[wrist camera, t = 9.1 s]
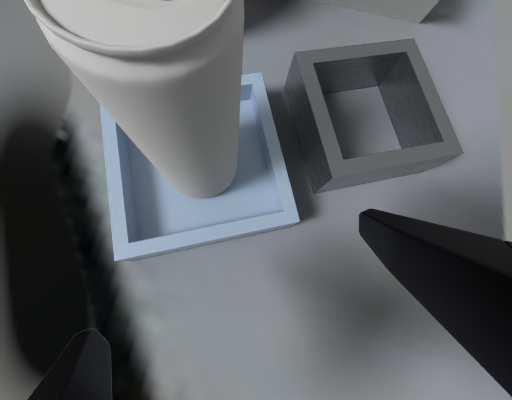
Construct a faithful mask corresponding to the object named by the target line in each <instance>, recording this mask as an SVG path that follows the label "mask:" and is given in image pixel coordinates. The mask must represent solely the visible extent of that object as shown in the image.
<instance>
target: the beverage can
mask: <svg viewBox="0 0 512 400" xmlns="http://www.w3.org/2000/svg"><path fill="white" fill-rule="evenodd" d="M24 1H25V2H26V4H27V6H28V8H29V10H30V11H31V13H33V15H34V16H35V17H36V20H37V22H38V24H39V25H40V28H41V29H42V31H43V33H44V35H45V36H46V38H47V40H48V42H49V44H50V45H51V46H52V48H53V49H54V50H55V51H56V53H57V54H58V55H59V56H60V57H61V58H62V60H63V61H64V62H65V63H66V64H67V65H68V67H69V68H70V69H71V70H72V71H73V73H74V74H75V75H76V76H77V77H78V78H79V80H80V81H81V82H82V83H83V84H84V85H85V87H86V88H87V89H88V90H89V91H90V92H91V94H92V95H93V96H94V97H95V98H96V99H97V101H98V102H99V103H100V104H101V105H102V106H103V108H104V109H105V110H106V111H107V112H108V113H109V115H110V116H111V117H112V118H113V119H114V120H115V122H116V123H117V124H118V125H119V126H120V127H121V129H122V130H123V131H124V132H125V133H126V134H127V136H128V137H129V138H130V139H131V140H132V141H133V142H134V144H135V145H136V146H137V147H138V148H139V149H140V150H141V152H142V153H143V154H144V155H145V156H146V157H147V158H148V159H149V161H150V162H151V163H152V164H153V165H154V166H155V167H156V168H157V169H158V171H159V172H160V173H161V174H162V175H163V176H164V177H165V178H166V180H167V181H168V182H169V183H170V184H171V185H172V186H173V187H174V188H175V189H176V190H177V191H179V192H181V193H182V194H184V195H186V196H189V197H192V198H195V199H206V198H209V197H213V196H216V195H218V194H219V193H221V192H223V191H224V190H225V189H226V188H227V187H228V186H229V185H230V184H231V182H232V181H233V179H234V177H235V174H236V171H237V162H238V141H239V120H240V99H241V78H242V57H243V36H244V0H24Z"/></svg>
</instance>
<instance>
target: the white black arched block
mask: <svg viewBox="0 0 512 400" xmlns="http://www.w3.org/2000/svg"><path fill="white" fill-rule="evenodd" d="M312 1H317V2H321V3H326V4H330V5H335V6H340V7H344V8H349V9H354V10H358V11H363V12H368V13H372V14H377V15H382V16H386V17H391V18H395V19H400V20H405V21H409V22H414V23H420V22H421V21H422V20H423V19H424V17H425V16H426V15H427V14H428V13H429V12H430V11H431V10H432V8H433V7H434V6H435V5H436V4H437V3H438V2H439V1H440V0H312Z"/></svg>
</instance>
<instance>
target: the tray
mask: <svg viewBox="0 0 512 400" xmlns="http://www.w3.org/2000/svg"><path fill="white" fill-rule="evenodd" d="M100 113H101V123H102V134H103V144H104V155H105V165H106V176H107V187H108V197H109V208H110V218H111V229H112V239H113V250H114V260H115V261H134V260H139V259H144V258H148V257H153V256H158V255H162V254H167V253H172V252H176V251H181V250H186V249H190V248H195V247H199V246H204V245H209V244H213V243H218V242H223V241H227V240H232V239H237V238H241V237H246V236H250V235H255V234H260V233H264V232H269V231H274V230H278V229H283V228H288V227H291V226H293V225H295V224H296V223H298V222H300V220H299V216H298V212H297V208H296V204H295V200H294V197H293V193H292V189H291V185H290V181H289V177H288V174H287V170H286V166H285V162H284V158H283V155H282V151H281V147H280V143H279V139H278V135H277V132H276V128H275V124H274V120H273V116H272V112H271V109H270V105H269V101H268V97H267V93H266V89H265V86H264V82H263V78H262V74H261V72H260V73H252V74H244V75H242V78H241V99H240V120H239V141H238V162H237V171H236V174H235V177H234V179H233V181H232V182H231V184H230V185H229V186H228V187H227V188H226V189H225V190H224V191H223V192H221V193H219V194H218V195H216V196H213V197H209V198H206V199H195V198H192V197H189V196H186V195H184V194H182V193H181V192H179V191H177V190H176V189H175V188H174V187H173V186H172V185H171V184H170V183H169V182H168V181H167V180H166V178H165V177H164V176H163V175H162V174H161V173H160V172H159V171H158V169H157V168H156V167H155V166H154V165H153V164H152V163H151V162H150V161H149V159H148V158H147V157H146V156H145V155H144V154H143V153H142V152H141V150H140V149H139V148H138V147H137V146H136V145H135V144H134V142H133V141H132V140H131V139H130V138H129V137H128V136H127V134H126V133H125V132H124V131H123V130H122V129H121V127H120V126H119V125H118V124H117V123H116V122H115V120H114V119H113V118H112V117H111V116H110V115H109V113H108V112H107V111H106V110H105V109H104V108H103V106H102V105H101V104H100Z"/></svg>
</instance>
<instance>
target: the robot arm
mask: <svg viewBox="0 0 512 400" xmlns="http://www.w3.org/2000/svg"><path fill="white" fill-rule="evenodd" d="M359 233H360V235H361V237H362V238H363V239H364V241H365V242H366V243H367V244H368V246H369V247H370V248H371V249H372V251H373V252H374V253H375V254H376V256H377V257H378V258H379V259H380V261H381V262H382V263H383V264H384V266H385V267H386V268H387V269H388V270H389V271H390V272H391V274H392V275H393V276H394V277H395V278H396V279H397V280H398V281H399V282H400V283H401V284H402V285H403V286H404V287H405V288H406V289H407V290H408V291H409V292H410V293H411V294H412V295H413V296H414V297H415V298H416V299H417V300H418V301H419V302H420V303H421V304H422V305H423V306H424V307H425V308H426V309H427V311H428V312H429V313H430V314H431V315H432V316H433V317H434V318H435V319H436V320H437V321H438V322H439V323H440V324H441V325H442V326H443V327H444V328H445V329H446V330H447V331H448V332H449V333H450V334H451V335H452V336H453V337H454V338H455V339H456V340H457V341H458V342H459V343H460V344H461V345H462V346H463V347H464V348H465V349H466V350H467V352H468V353H469V354H470V355H471V356H472V357H473V358H474V359H475V360H476V361H477V362H478V363H479V364H480V365H481V366H482V367H483V368H484V369H485V370H486V371H487V372H488V373H489V374H490V375H491V376H492V377H493V378H494V379H495V380H496V381H497V382H498V383H499V384H500V385H501V386H502V387H503V388H504V389H505V390H506V391H507V392H508V394H509V395H510V396H511V397H512V242H509V241H503V240H501V239H497V238H492V237H488V236H484V235H480V234H476V233H472V232H467V231H463V230H459V229H455V228H451V227H447V226H442V225H438V224H434V223H430V222H426V221H422V220H417V219H413V218H409V217H405V216H401V215H397V214H392V213H388V212H384V211H380V210H376V209H368V210H365V211H363V212H361V213H360V215H359ZM28 400H112V379H111V349H110V345H109V343H108V341H107V340H106V339H105V338H104V337H103V336H102V335H101V334H100V333H98V332H97V331H96V330H95V329H93V328H90V329H87V330H85V331H83V332H80V333H78V334H76V335H75V336H74V337H73V339H72V340H71V341H70V343H69V344H68V345H67V347H66V348H65V350H64V351H63V352H62V354H61V355H60V356H59V358H58V359H57V361H56V362H55V363H54V364H53V366H52V367H51V368H50V370H49V371H48V373H47V374H46V375H45V377H44V378H43V379H42V381H41V382H40V384H39V385H38V386H37V388H36V389H35V390H34V392H33V393H32V394H31V396H30V397H29V399H28Z"/></svg>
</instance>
